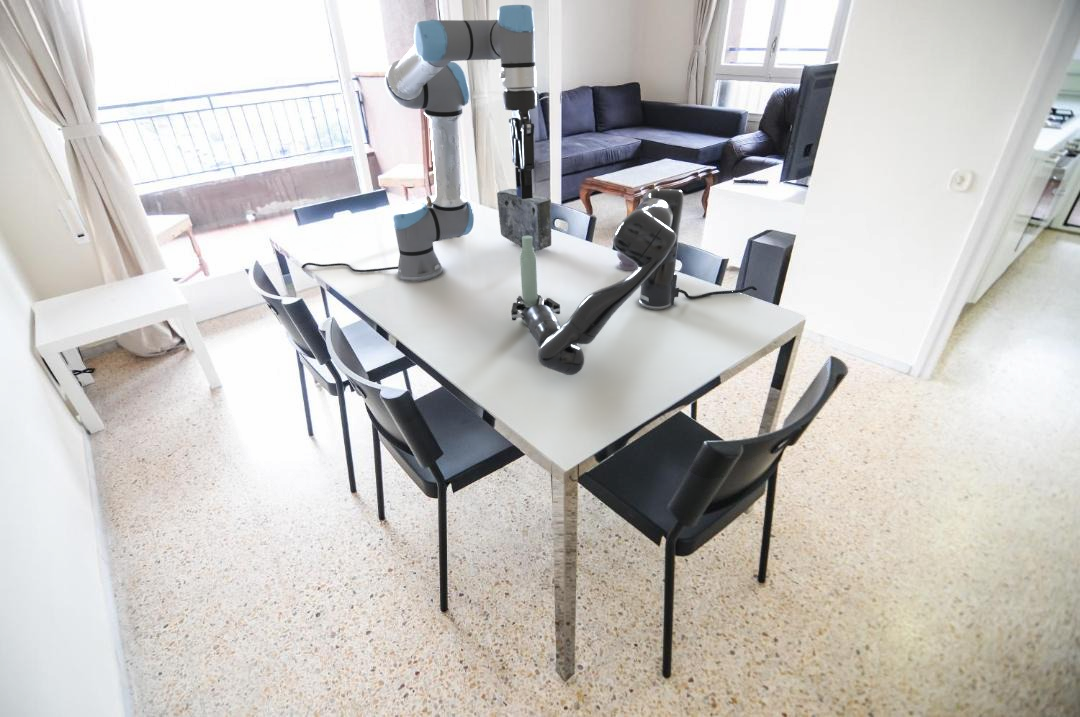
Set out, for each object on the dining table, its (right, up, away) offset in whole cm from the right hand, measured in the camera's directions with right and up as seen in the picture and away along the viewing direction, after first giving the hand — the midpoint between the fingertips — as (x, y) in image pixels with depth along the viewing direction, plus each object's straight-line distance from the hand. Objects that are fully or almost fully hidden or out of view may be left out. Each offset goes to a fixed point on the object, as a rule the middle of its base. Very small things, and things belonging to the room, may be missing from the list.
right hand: (527, 298), depth 141 cm
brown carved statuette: (-40, +38, +76) cm, 94 cm away
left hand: (0, +23, -17) cm, 29 cm away
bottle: (+1, -7, +1) cm, 7 cm away
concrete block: (-2, +27, +57) cm, 63 cm away
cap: (-1, +25, -18) cm, 31 cm away
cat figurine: (+35, +15, +34) cm, 51 cm away
